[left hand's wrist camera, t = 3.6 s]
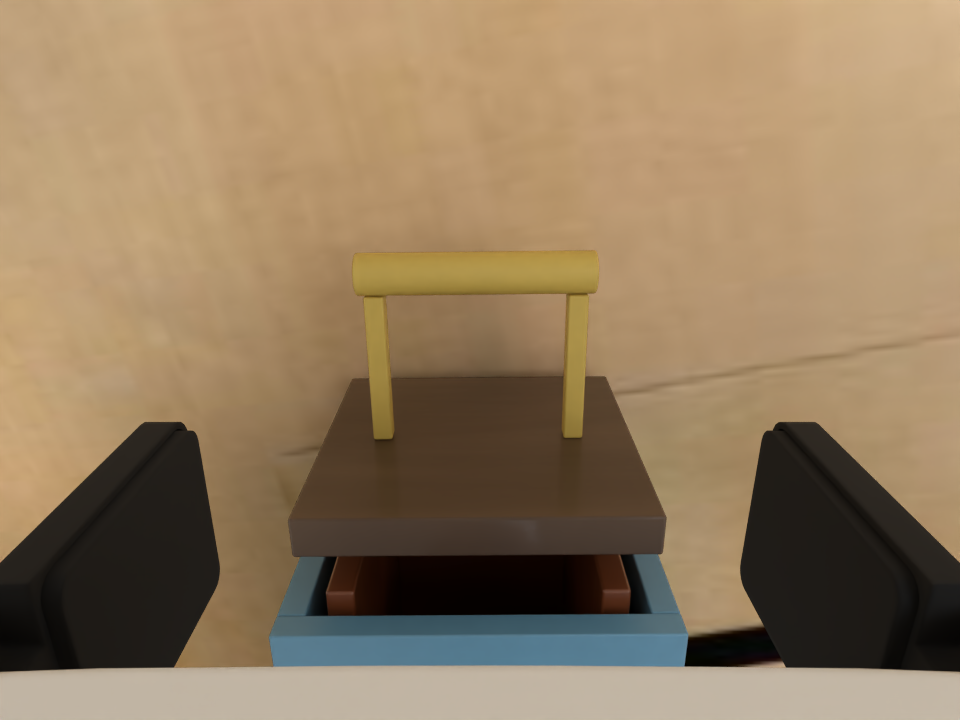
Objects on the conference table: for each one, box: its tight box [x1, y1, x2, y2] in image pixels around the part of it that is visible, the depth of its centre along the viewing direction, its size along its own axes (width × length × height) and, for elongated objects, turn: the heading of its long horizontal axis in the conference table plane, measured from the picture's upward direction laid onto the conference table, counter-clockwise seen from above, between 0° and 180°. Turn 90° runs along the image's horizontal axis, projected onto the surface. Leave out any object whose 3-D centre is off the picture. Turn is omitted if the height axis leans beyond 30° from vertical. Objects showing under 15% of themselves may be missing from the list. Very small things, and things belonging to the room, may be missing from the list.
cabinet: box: [269, 554, 688, 667], centre depth 26 cm, size 18×11×11 cm, turn 1°
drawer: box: [288, 250, 666, 616], centre depth 24 cm, size 23×10×9 cm, turn 1°
